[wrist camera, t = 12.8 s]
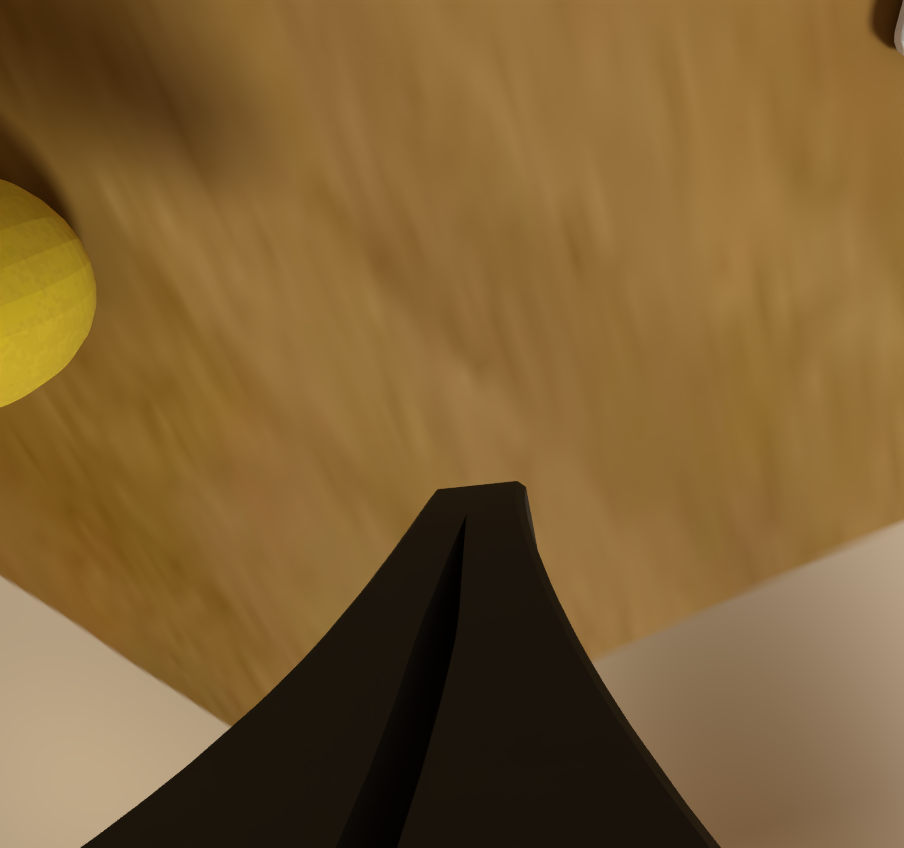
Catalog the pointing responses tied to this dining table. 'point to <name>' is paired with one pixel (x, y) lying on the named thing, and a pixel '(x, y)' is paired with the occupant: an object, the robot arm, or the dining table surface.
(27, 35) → the dining table surface
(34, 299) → the lemon
